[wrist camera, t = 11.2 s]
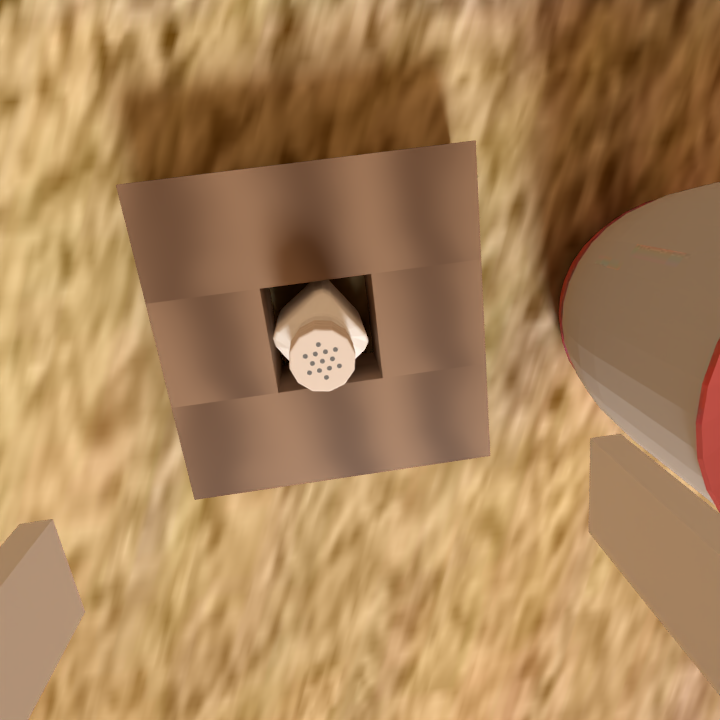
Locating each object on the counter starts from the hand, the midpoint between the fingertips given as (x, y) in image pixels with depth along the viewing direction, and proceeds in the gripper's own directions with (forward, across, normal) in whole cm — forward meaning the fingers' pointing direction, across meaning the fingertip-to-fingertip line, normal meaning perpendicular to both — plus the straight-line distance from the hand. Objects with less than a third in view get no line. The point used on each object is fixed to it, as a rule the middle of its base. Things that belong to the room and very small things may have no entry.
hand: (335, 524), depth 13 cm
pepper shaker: (+23, 0, 0) cm, 23 cm away
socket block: (+22, 0, 0) cm, 22 cm away
